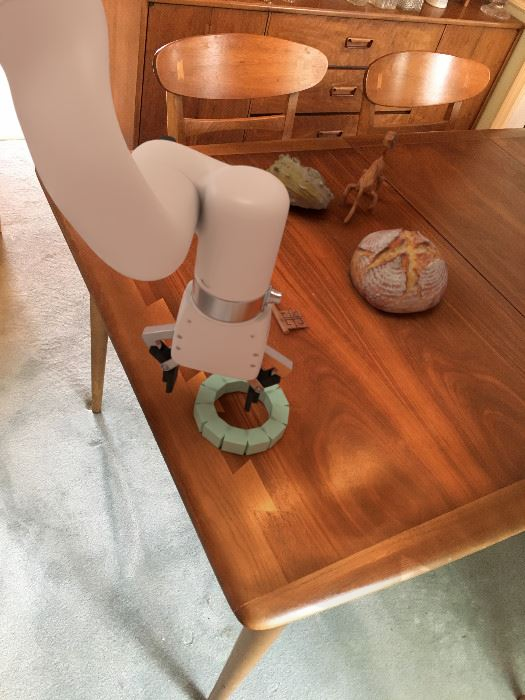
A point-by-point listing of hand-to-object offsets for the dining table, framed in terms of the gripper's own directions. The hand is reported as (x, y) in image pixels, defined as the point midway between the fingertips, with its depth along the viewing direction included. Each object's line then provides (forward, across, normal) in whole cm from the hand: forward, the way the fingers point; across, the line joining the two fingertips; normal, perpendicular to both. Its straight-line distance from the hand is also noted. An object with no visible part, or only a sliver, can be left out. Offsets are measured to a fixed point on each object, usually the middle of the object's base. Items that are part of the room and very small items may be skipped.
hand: (209, 393), depth 68 cm
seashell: (+3, -5, -52) cm, 52 cm away
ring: (+3, -4, 0) cm, 5 cm away
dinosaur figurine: (+3, -18, -56) cm, 59 cm away
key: (+3, -5, -23) cm, 24 cm away
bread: (+3, -25, -35) cm, 43 cm away
